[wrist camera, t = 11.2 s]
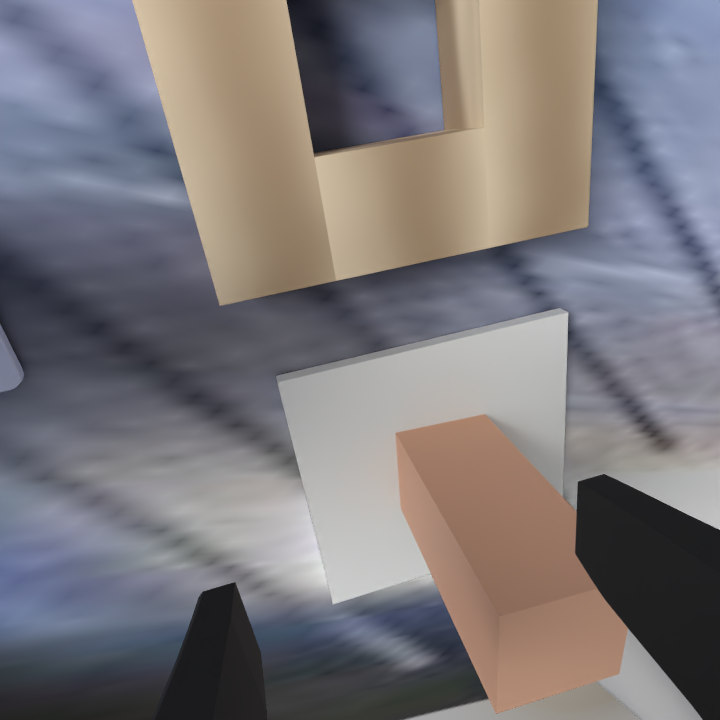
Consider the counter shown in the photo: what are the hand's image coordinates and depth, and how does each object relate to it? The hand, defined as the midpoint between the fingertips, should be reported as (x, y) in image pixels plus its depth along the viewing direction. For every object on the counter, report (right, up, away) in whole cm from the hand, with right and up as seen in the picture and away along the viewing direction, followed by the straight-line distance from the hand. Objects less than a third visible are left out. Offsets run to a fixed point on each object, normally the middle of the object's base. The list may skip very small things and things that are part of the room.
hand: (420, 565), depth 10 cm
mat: (+2, 0, +12) cm, 13 cm away
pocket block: (-1, +14, +5) cm, 15 cm away
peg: (+2, 0, +12) cm, 12 cm away
